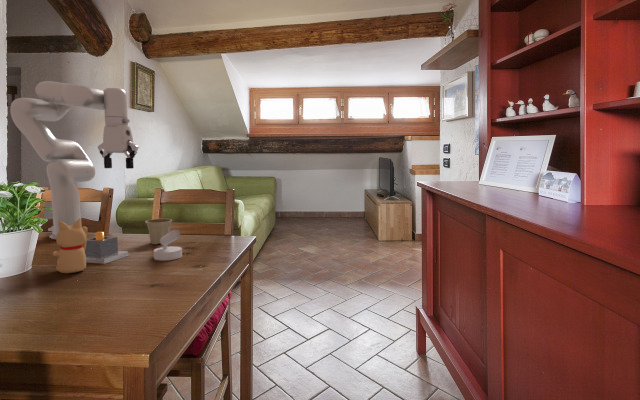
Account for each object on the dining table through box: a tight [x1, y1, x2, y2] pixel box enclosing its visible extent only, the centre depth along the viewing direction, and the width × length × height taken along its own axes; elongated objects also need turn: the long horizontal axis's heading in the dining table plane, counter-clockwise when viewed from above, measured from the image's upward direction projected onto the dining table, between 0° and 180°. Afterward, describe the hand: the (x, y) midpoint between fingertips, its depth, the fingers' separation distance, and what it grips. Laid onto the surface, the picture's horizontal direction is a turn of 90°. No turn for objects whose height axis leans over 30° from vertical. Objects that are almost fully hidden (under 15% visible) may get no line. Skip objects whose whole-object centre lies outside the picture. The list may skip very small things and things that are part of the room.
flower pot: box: [144, 218, 173, 245], centre depth 145 cm, size 9×9×9 cm
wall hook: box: [153, 229, 183, 261], centre depth 123 cm, size 9×10×10 cm
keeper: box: [86, 231, 129, 265], centre depth 121 cm, size 12×10×8 cm
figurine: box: [52, 218, 88, 274], centre depth 108 cm, size 9×10×15 cm
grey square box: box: [85, 235, 119, 257], centre depth 121 cm, size 7×7×5 cm
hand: (118, 168), depth 144 cm, fingers open, 9 cm apart
